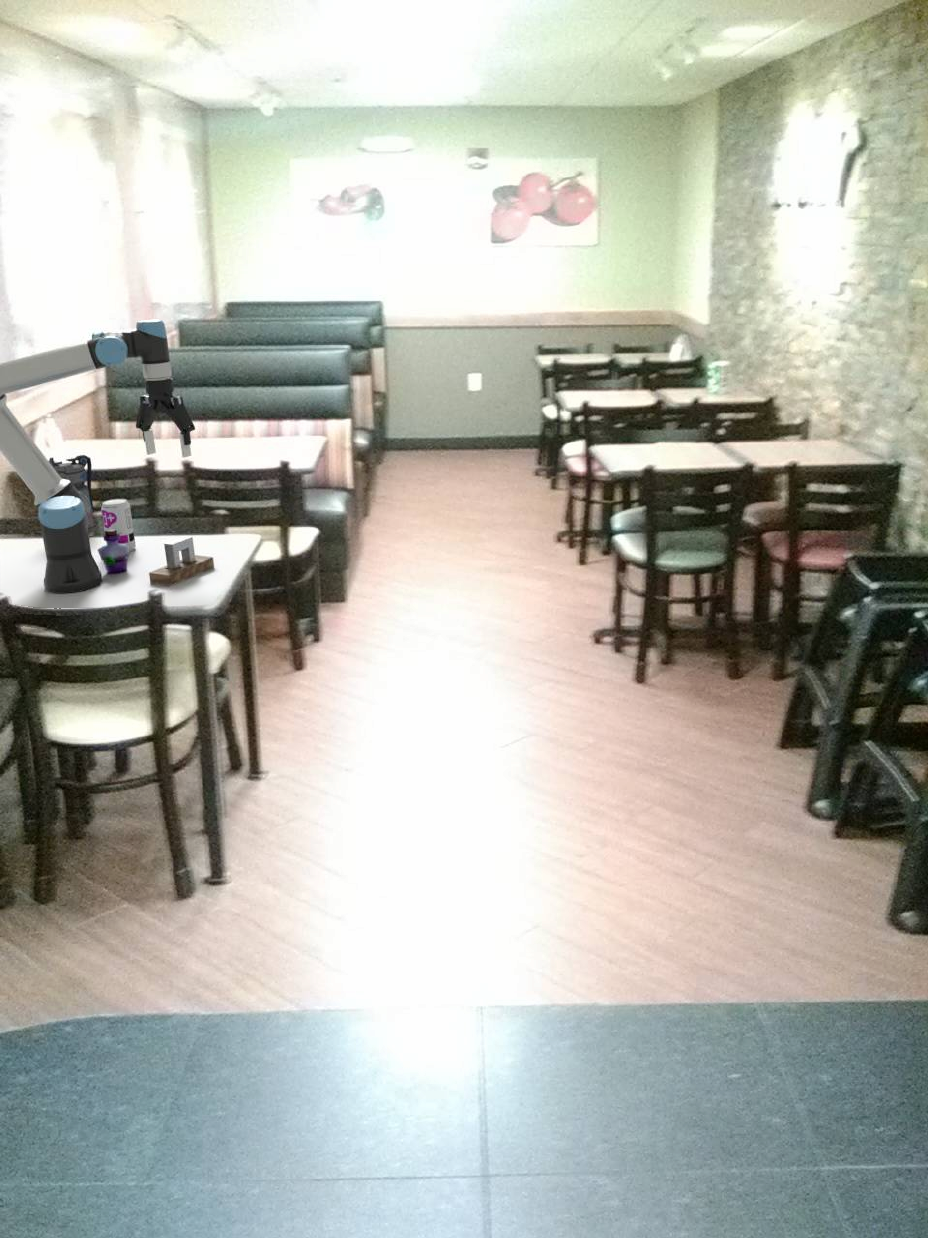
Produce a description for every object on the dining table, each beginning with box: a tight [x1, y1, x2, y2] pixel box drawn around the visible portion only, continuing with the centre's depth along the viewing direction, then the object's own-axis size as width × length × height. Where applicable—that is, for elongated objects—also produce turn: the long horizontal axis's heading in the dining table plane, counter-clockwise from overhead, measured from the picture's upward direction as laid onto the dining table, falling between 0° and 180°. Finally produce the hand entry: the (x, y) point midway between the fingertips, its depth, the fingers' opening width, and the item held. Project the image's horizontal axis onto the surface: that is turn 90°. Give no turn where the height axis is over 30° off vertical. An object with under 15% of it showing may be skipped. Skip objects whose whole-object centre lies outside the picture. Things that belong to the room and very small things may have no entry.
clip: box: [163, 535, 196, 570], centre depth 316 cm, size 8×3×10 cm, turn 151°
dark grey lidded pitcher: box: [48, 454, 97, 534], centre depth 364 cm, size 10×13×25 cm
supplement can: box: [100, 498, 137, 553], centre depth 343 cm, size 8×8×15 cm
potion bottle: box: [97, 530, 130, 575], centre depth 322 cm, size 9×9×12 cm
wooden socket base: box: [148, 554, 215, 587], centre depth 317 cm, size 18×7×3 cm, turn 151°
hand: (169, 455), depth 321 cm, fingers open, 13 cm apart
